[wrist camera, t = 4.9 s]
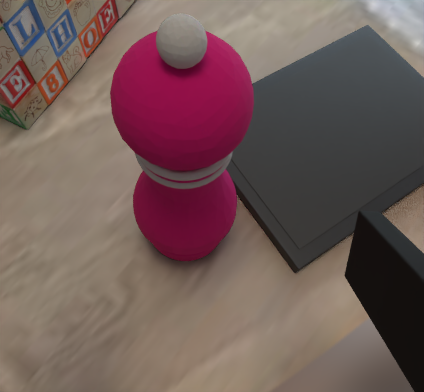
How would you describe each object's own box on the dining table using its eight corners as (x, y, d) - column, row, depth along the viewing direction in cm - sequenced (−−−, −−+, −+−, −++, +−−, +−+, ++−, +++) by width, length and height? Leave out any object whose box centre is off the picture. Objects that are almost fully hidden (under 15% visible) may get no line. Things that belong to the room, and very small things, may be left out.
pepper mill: (122, 225, 30) (18, 20, 12) (184, 167, 33) (178, -79, 14) (187, 287, 29) (185, 159, 10) (248, 221, 31) (334, 21, 13)
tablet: (294, 273, 30) (299, 269, 28) (185, 125, 34) (185, 116, 33) (478, 145, 35) (488, 137, 34) (363, 33, 40) (368, 23, 39)
